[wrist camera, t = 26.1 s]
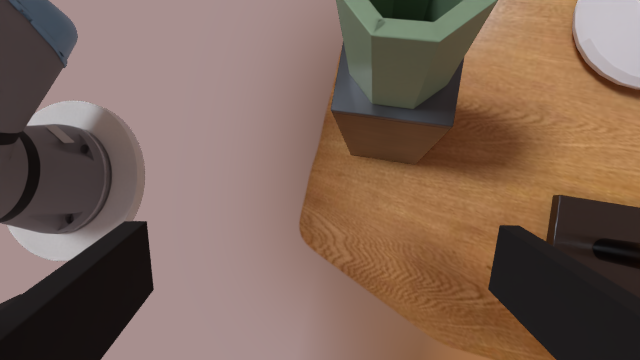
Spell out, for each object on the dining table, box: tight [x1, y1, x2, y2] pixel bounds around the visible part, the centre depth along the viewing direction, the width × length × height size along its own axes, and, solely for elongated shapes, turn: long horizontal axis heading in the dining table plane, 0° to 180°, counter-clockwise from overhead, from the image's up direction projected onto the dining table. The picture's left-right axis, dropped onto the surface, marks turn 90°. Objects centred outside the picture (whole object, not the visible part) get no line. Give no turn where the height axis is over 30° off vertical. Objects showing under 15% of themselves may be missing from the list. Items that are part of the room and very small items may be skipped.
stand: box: [331, 41, 464, 165], centre depth 32 cm, size 8×8×20 cm
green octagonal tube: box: [336, 0, 498, 109], centre depth 18 cm, size 6×6×9 cm
